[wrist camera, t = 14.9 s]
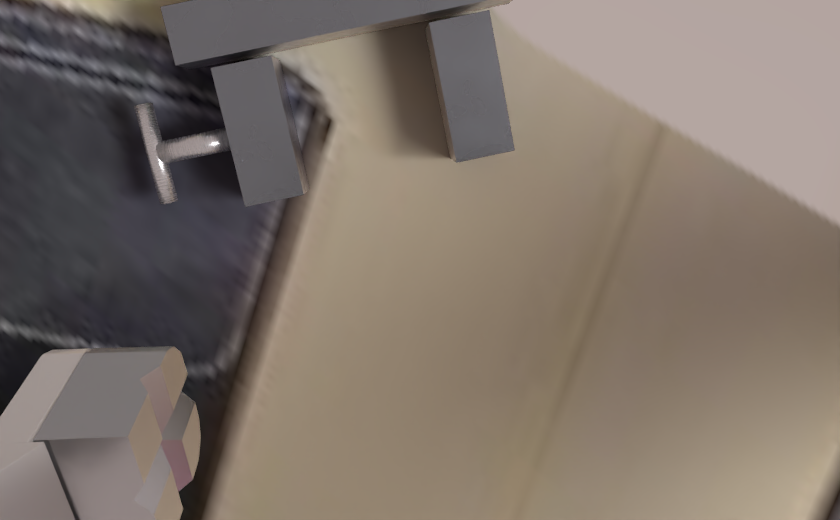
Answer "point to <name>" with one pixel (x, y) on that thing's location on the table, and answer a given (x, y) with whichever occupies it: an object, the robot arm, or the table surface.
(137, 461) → the robot arm
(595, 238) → the table surface
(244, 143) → the vise
